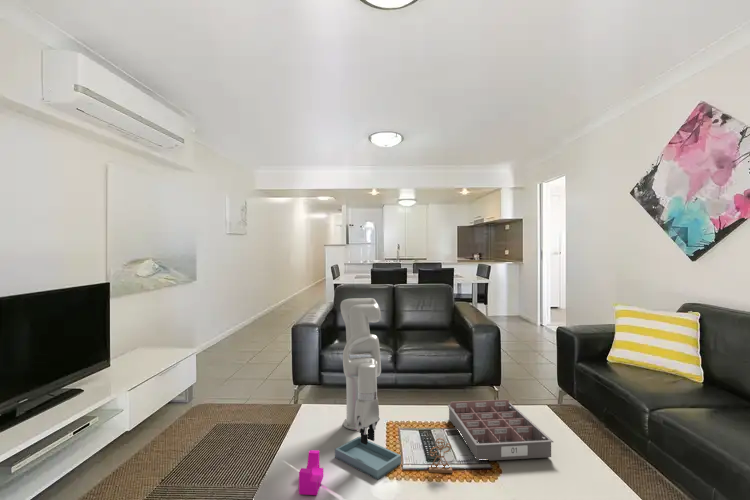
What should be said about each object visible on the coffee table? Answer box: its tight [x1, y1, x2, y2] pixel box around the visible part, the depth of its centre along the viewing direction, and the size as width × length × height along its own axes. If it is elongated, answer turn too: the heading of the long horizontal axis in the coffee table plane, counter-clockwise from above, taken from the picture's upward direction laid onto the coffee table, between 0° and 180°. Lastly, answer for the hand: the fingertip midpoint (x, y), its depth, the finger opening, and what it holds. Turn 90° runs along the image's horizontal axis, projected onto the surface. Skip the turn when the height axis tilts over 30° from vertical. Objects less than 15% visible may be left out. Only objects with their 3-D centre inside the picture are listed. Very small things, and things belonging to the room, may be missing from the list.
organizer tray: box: [447, 399, 554, 461], centre depth 171 cm, size 32×40×10 cm
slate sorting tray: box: [334, 436, 402, 481], centre depth 153 cm, size 14×23×4 cm, turn 48°
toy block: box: [298, 449, 324, 496], centre depth 140 cm, size 15×6×8 cm, turn 175°
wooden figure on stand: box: [428, 437, 454, 474], centre depth 147 cm, size 9×4×12 cm, turn 86°
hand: (367, 441), depth 153 cm, fingers open, 3 cm apart
